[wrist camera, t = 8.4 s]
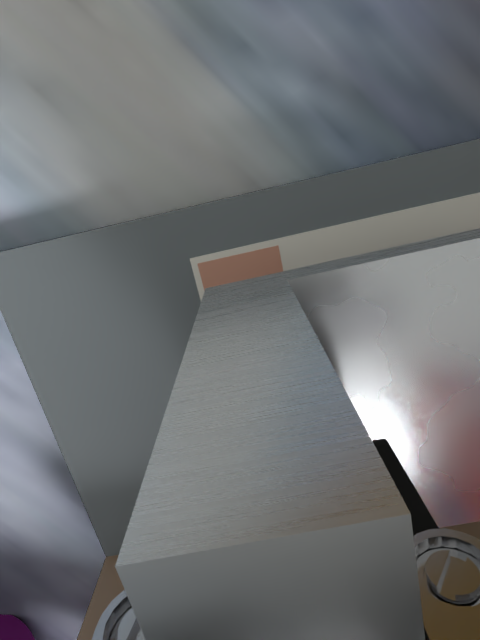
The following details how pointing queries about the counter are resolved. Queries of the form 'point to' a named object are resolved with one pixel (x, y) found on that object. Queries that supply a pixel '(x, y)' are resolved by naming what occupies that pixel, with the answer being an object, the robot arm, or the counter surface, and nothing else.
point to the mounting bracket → (13, 629)
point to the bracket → (311, 450)
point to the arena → (191, 306)
